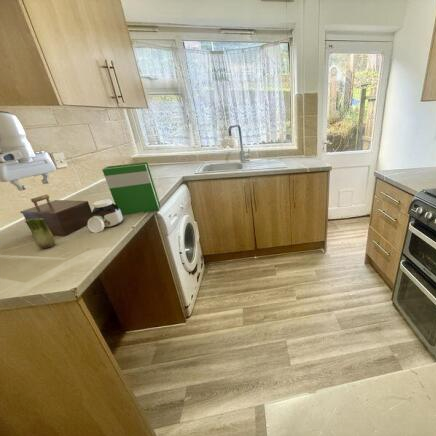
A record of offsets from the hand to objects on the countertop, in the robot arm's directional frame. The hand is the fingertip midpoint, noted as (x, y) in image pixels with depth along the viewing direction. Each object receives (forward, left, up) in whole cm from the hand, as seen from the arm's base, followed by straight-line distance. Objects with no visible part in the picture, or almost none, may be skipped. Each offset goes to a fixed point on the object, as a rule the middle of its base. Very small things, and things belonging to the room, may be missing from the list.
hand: (34, 186), depth 104 cm
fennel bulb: (+16, -16, -20) cm, 30 cm away
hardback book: (+28, +21, -19) cm, 40 cm away
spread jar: (+26, +2, -19) cm, 33 cm away
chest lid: (+6, 0, -9) cm, 11 cm away
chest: (+6, 0, -19) cm, 20 cm away
